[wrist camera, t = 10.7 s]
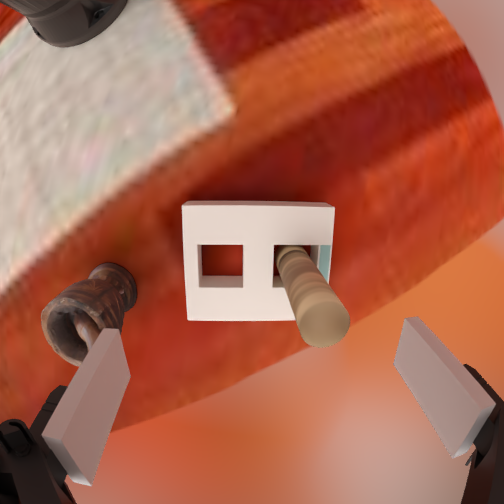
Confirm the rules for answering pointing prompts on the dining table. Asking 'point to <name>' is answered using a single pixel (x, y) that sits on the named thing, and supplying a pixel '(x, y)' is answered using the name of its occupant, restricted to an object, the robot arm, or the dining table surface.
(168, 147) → the dining table surface
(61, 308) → the mortar and pestle
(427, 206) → the dining table surface
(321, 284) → the leg peg
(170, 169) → the dining table surface
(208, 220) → the board
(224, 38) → the dining table surface
